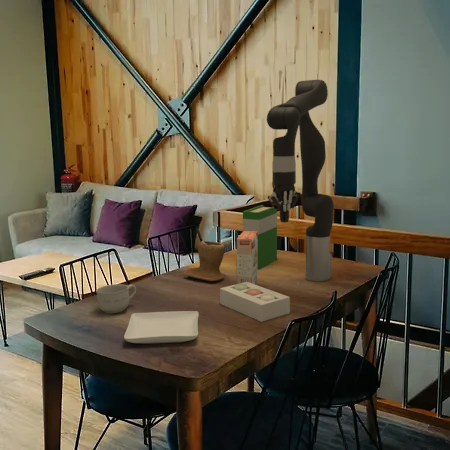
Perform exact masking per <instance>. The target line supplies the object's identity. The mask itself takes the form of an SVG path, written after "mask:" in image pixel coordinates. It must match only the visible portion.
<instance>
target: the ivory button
mask: <svg viewBox="0 0 450 450" xmlns="http://www.w3.org/2000/svg"><path fill="white" fill-rule="evenodd" d="M261 300H264V301H271V300H274V295H272V294H263V295H261Z"/></svg>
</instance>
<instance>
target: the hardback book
mask: <svg viewBox="0 0 450 450" xmlns="http://www.w3.org/2000/svg"><path fill="white" fill-rule="evenodd" d="M243 231H256V232H258V265H257V271H260V270H261V269H264V268H265V267H267V266H269V265H271V264H272V263H274V262H276V261H277V260H278V210H276V209H275V208H274V207H273V206H271V207H266V206H265V205H264V204H260V205H258V206H254V207H252V208H249V209H245V210H243V211H242V232H243Z"/></svg>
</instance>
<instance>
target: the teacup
mask: <svg viewBox="0 0 450 450" xmlns="http://www.w3.org/2000/svg"><path fill="white" fill-rule="evenodd" d="M131 288H132V291H131V294H130V292H129V291H130V289H131ZM95 292H96V300H97V305H98V307H99V310H101V311H103V312H104V313H105V314H116V313H117V314H118V313H122V312H124V311H125V310H126V308H127V307H128V306H129V304H130V301H131V300H132V299H133V297H134V296H135V295H136V293H137V287H136V286H135V284H128V285H126V284H123V283H122V284H121V283H115V284H114V283H113V284H108V285H103V286H100V287H98V288H97V289H96V290H95Z"/></svg>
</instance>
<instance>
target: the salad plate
mask: <svg viewBox="0 0 450 450" xmlns="http://www.w3.org/2000/svg"><path fill="white" fill-rule="evenodd" d="M199 314H200V313H199V311H197V310H195V311H194V310H188V311H187V310H185V311H181V310H180V311H177V310H176V311H175V310H174V311H153V312H136V313H135V312H134V313H131V315H130V317H129V322H128V325H127V328H126V330H125V333H124V335H123V338H124V339H123V340H125V341H126V342H128V343H132V344H145V345H146V344H169V343H184V342H190V341H192V340H195V339H197V337H198V336H199V325H198V324H199V323H198V321H199Z"/></svg>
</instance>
